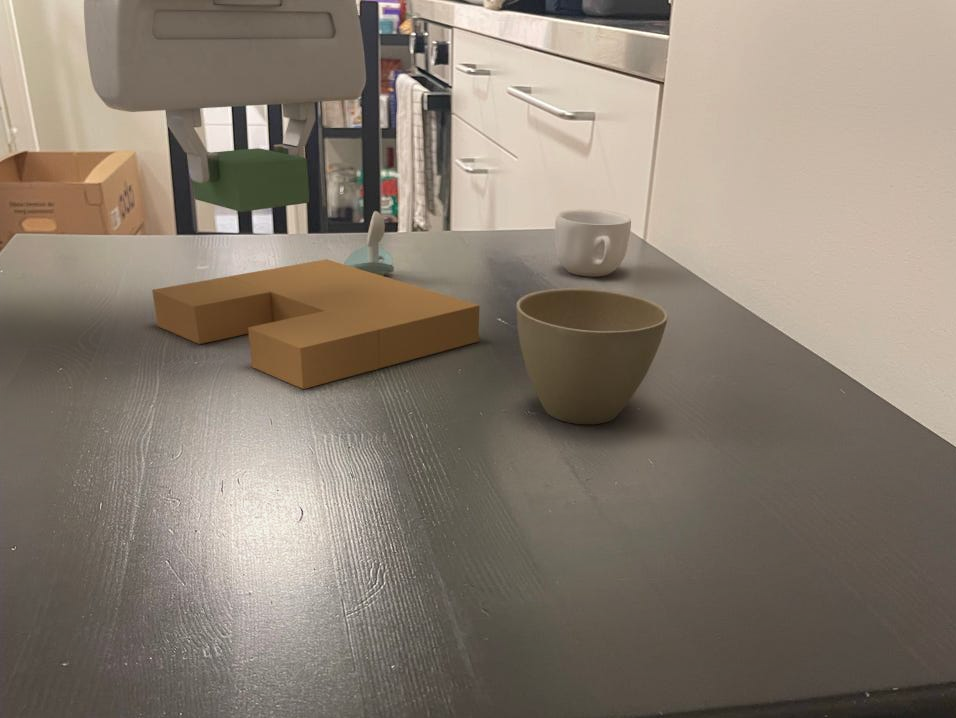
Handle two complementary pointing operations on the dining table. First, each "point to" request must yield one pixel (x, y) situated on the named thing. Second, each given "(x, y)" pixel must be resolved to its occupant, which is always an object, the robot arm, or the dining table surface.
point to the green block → (256, 181)
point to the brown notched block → (318, 319)
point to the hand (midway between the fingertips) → (249, 176)
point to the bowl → (587, 349)
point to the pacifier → (372, 250)
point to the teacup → (591, 241)
